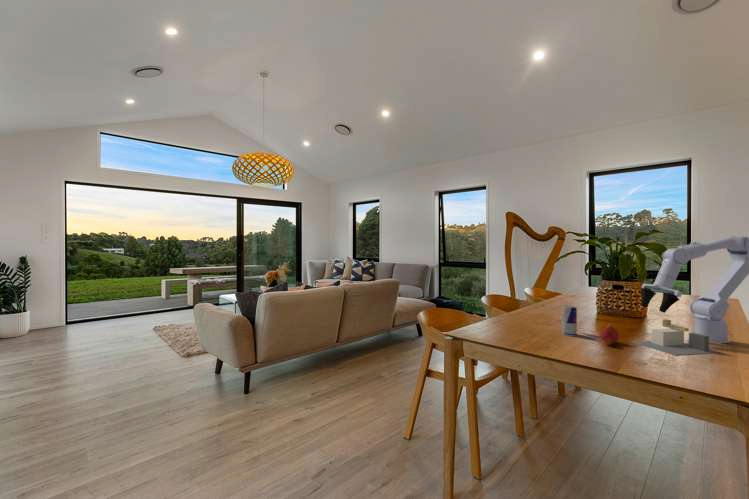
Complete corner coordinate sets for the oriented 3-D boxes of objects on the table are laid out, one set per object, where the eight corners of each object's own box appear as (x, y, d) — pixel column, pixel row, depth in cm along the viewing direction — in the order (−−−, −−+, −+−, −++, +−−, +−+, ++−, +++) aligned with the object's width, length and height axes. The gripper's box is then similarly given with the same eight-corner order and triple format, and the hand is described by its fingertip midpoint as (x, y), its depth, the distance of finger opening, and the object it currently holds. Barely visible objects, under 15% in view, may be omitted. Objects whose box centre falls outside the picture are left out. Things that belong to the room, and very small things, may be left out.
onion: (596, 343, 134) (596, 322, 134) (610, 342, 134) (610, 322, 134) (607, 347, 128) (608, 326, 128) (622, 347, 129) (622, 325, 128)
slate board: (667, 341, 137) (667, 325, 137) (720, 355, 119) (720, 337, 119) (627, 343, 134) (627, 327, 134) (675, 357, 116) (675, 339, 116)
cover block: (671, 341, 133) (671, 328, 133) (684, 344, 128) (684, 331, 128) (651, 342, 131) (651, 329, 131) (663, 345, 127) (663, 332, 127)
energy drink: (578, 337, 143) (578, 307, 143) (564, 336, 144) (564, 307, 144) (573, 333, 148) (574, 305, 148) (560, 333, 149) (560, 305, 149)
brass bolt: (667, 326, 134) (667, 319, 134) (689, 331, 127) (689, 323, 126) (662, 326, 134) (662, 319, 134) (684, 331, 126) (684, 324, 126)
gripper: (641, 270, 144) (628, 301, 144) (677, 276, 129) (662, 310, 130) (655, 276, 145) (641, 307, 145) (691, 283, 131) (676, 317, 131)
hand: (652, 309), depth 138 cm, fingers open, 7 cm apart
